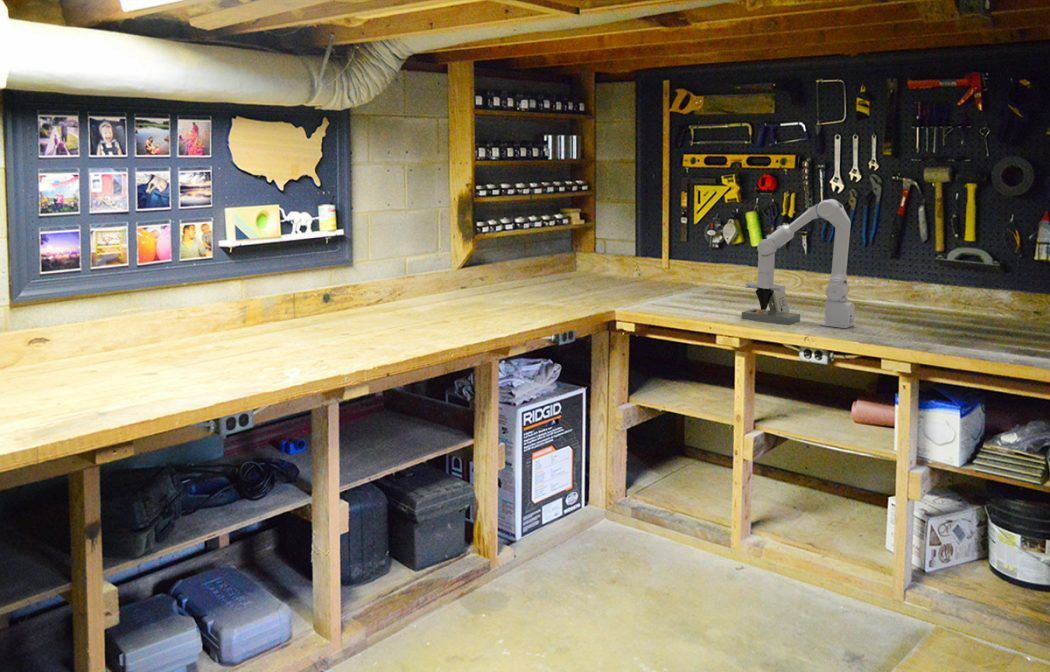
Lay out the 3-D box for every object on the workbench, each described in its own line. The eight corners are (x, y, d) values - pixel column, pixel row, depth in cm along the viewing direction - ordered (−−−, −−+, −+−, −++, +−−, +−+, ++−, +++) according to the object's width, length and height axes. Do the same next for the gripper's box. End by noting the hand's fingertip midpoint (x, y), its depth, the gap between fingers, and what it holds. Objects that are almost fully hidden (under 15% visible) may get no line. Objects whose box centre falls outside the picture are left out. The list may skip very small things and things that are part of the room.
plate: (799, 321, 343) (800, 314, 342) (787, 324, 335) (788, 317, 335) (754, 315, 354) (754, 308, 354) (741, 318, 347) (741, 312, 346)
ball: (757, 308, 349) (757, 317, 350) (753, 309, 347) (753, 318, 347) (765, 309, 347) (765, 318, 348) (761, 310, 345) (761, 319, 345)
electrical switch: (779, 316, 353) (778, 291, 351) (766, 316, 356) (765, 291, 355) (789, 313, 360) (788, 288, 359) (776, 313, 363) (776, 288, 362)
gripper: (789, 272, 342) (787, 310, 344) (752, 269, 351) (750, 305, 353) (780, 274, 336) (778, 312, 339) (743, 271, 346) (741, 308, 348)
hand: (763, 309), depth 346 cm, fingers closed
